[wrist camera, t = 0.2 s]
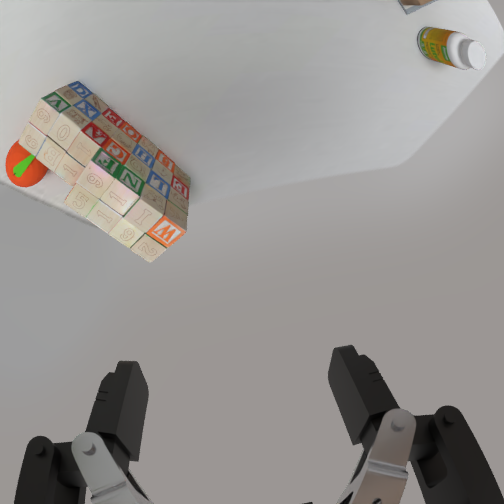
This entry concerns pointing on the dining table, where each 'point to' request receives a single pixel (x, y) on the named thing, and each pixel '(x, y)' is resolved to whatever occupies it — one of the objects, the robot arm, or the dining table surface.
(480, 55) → the supplement bottle
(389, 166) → the dining table surface
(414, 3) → the base block
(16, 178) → the clementine
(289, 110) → the dining table surface
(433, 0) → the blueprint board
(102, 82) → the dining table surface
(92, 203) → the stack of blocks
